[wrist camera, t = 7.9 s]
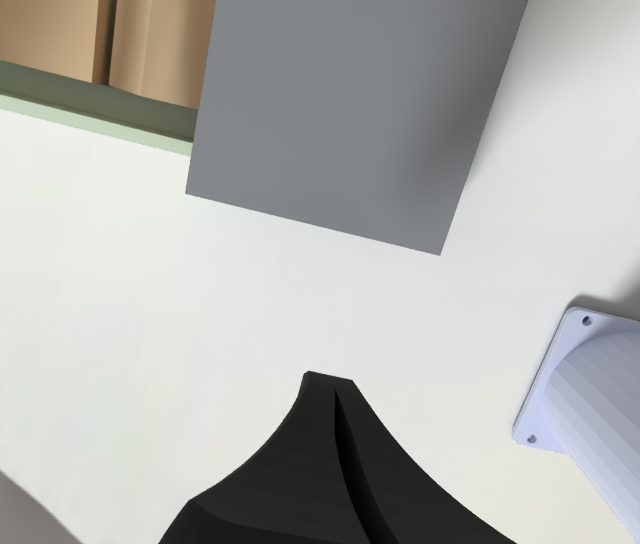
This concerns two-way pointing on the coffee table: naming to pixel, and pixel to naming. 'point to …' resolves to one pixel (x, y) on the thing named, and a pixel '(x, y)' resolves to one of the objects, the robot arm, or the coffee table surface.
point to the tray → (97, 108)
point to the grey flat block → (350, 110)
